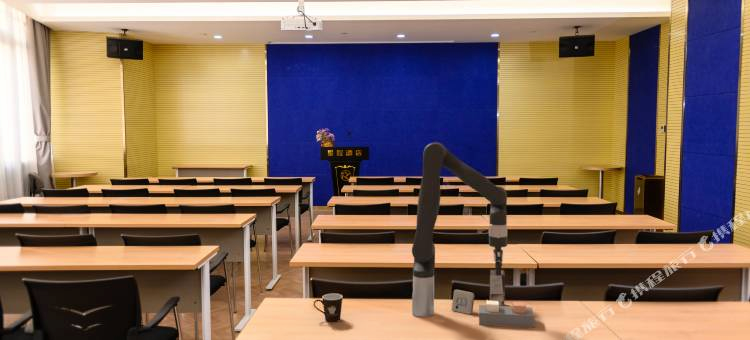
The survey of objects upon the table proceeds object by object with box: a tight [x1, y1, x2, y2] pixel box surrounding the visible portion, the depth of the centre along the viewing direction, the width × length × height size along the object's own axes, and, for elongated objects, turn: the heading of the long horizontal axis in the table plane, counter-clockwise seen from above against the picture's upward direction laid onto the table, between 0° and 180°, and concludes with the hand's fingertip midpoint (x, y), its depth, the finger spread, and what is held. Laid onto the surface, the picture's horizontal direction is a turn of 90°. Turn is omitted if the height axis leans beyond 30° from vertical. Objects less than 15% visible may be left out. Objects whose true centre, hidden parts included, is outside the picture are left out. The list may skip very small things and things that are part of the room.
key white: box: [485, 299, 499, 312], centre depth 237 cm, size 5×5×5 cm
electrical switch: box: [451, 289, 475, 315], centre depth 250 cm, size 9×5×9 cm, turn 54°
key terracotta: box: [512, 301, 527, 314], centre depth 235 cm, size 5×5×5 cm
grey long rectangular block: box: [478, 304, 535, 329], centre depth 236 cm, size 22×10×5 cm, turn 80°
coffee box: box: [489, 269, 506, 306], centre depth 254 cm, size 9×6×16 cm
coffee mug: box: [313, 293, 343, 323], centre depth 241 cm, size 12×9×10 cm
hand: (498, 272), depth 237 cm, fingers open, 8 cm apart
